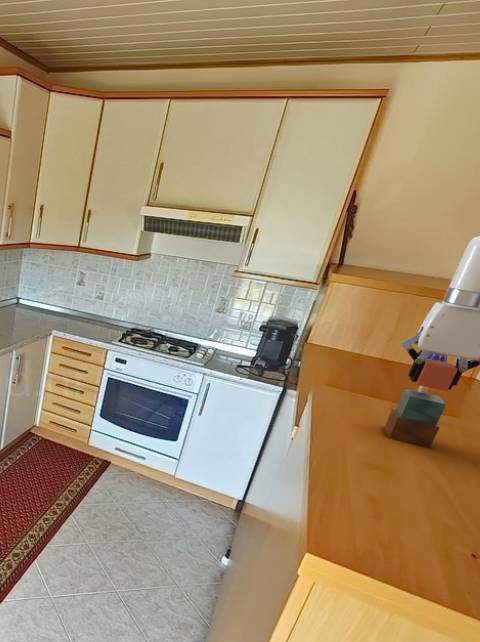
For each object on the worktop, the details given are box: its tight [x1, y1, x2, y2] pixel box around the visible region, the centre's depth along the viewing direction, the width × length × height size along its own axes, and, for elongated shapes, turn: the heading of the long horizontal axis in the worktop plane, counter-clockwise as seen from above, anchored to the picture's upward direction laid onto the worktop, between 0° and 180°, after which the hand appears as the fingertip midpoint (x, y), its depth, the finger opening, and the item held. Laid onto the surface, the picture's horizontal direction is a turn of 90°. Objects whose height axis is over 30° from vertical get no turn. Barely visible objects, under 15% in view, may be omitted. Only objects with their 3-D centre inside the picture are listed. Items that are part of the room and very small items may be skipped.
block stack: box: [383, 388, 447, 449], centre depth 107 cm, size 7×7×10 cm
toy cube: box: [414, 359, 458, 392], centre depth 104 cm, size 5×5×5 cm
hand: (429, 383), depth 105 cm, fingers closed on toy cube, 5 cm apart
